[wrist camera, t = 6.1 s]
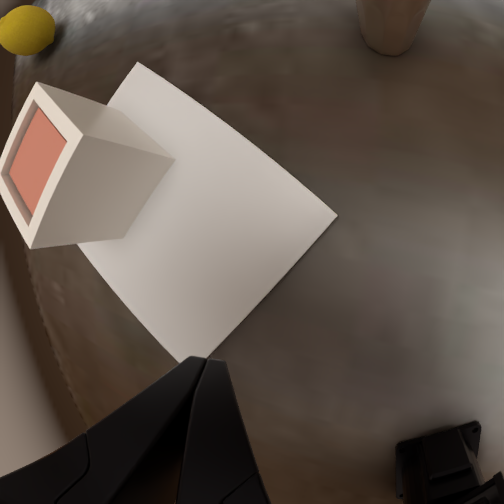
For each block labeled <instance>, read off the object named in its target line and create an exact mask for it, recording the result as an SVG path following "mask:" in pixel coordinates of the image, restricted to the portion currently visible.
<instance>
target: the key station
mask: <svg viewBox="0 0 504 504" xmlns="http://www.w3.org/2000/svg"><path fill="white" fill-rule="evenodd" d="M38 108H41V109H42V111H43V112H44V113H45V114H46V116H47V117H48V118H49V119H50V121H51V122H52V123H53V124H54V126H55V127H56V128H57V129H58V131H59V132H60V133H61V134H62V136H63V137H64V138H65V139H66V140H67V143H66V145H65V147H64V149H63V151H62V152H61V154H60V156H59V158H58V160H57V162H56V164H55V166H54V169H53V171H52V173H51V175H50V177H49V179H48V181H47V183H46V186H45V188H44V190H43V192H42V195H41V197H40V199H39V202H38V204H37V207H36V209H35V212H34V214H33V215H32V213H31V212H30V210H29V208H28V207H27V205H26V203H25V201H24V200H23V198H22V196H21V194H20V193H19V191H18V189H17V187H16V185H15V183H14V181H13V180H12V178H11V176H10V174H9V172H10V169H11V167H12V164H13V162H14V159H15V157H16V154H17V152H18V150H19V147H20V145H21V143H22V140H23V138H24V136H25V134H26V132H27V130H28V127H29V125H30V123H31V121H32V119H33V117H34V115H35V113H36V111H37V109H38ZM0 193H1V195H2V198H3V200H4V202H5V204H6V206H7V207H8V210H9V212H10V214H11V216H12V218H13V219H14V221H15V223H16V225H17V227H18V229H19V231H20V232H21V234H22V236H23V238H24V240H25V241H26V243H27V245H28V247H29V248H30V249H36V248H44V247H52V246H60V245H69V244H77V245H78V246H79V247H80V249H81V250H82V251H83V253H84V254H85V255H86V257H87V258H88V259H89V260H90V262H91V263H92V264H93V266H94V267H95V268H96V269H97V271H98V272H99V273H100V274H101V276H102V277H103V278H104V279H105V281H106V282H107V283H108V284H109V286H110V287H111V288H112V289H113V290H114V292H115V293H116V294H117V295H118V296H119V298H120V299H121V300H122V301H123V302H124V304H125V305H126V306H127V307H128V308H129V309H130V311H131V312H132V313H133V314H134V315H135V316H136V317H137V318H138V320H139V321H140V322H141V323H142V324H143V325H144V326H145V327H146V328H147V330H148V331H149V332H150V333H151V334H152V335H153V336H154V337H155V338H156V339H157V340H158V341H159V343H160V344H161V345H162V346H163V347H164V348H165V349H166V350H167V351H168V352H169V353H170V354H171V355H172V356H173V357H174V358H175V359H176V360H177V361H178V362H179V363H181V362H182V361H183V360H185V359H186V358H187V357H189V356H198V357H204V358H207V357H208V356H209V355H210V354H211V353H212V352H213V351H214V350H215V349H216V348H217V347H218V346H219V345H220V344H221V343H222V342H223V341H224V340H225V339H226V337H227V336H228V335H229V334H230V333H231V332H232V331H233V330H234V329H235V328H236V327H237V326H238V325H239V324H240V323H241V322H242V321H243V320H244V319H245V318H246V316H247V315H248V314H249V313H250V312H251V311H252V310H253V309H254V308H255V307H256V306H257V305H258V304H259V303H260V302H261V300H262V299H263V298H264V297H265V296H266V295H267V294H268V293H269V292H270V291H271V290H272V289H273V287H274V286H275V285H276V284H277V283H278V282H279V281H280V280H281V279H282V278H283V277H284V276H285V274H286V273H287V272H288V271H289V270H290V269H291V268H292V267H293V266H294V265H295V263H296V262H297V261H298V260H299V259H300V258H301V257H302V256H303V255H304V253H305V252H306V251H307V250H308V249H309V248H310V247H311V246H312V244H313V243H314V242H315V241H316V240H317V239H318V238H319V237H320V235H321V234H322V233H323V232H324V231H325V230H326V229H327V228H328V226H329V225H330V224H331V223H332V222H333V221H334V220H335V218H336V217H337V216H338V215H337V214H336V213H335V212H334V211H333V210H331V209H330V208H329V207H328V206H327V205H326V204H325V203H324V202H322V201H321V200H320V199H319V198H318V197H317V196H316V195H314V194H313V193H312V192H311V191H310V190H309V189H307V188H306V187H305V186H304V185H303V184H302V183H300V182H299V181H298V180H297V179H296V178H294V177H293V176H292V175H291V174H290V173H288V172H287V171H286V170H285V169H284V168H282V167H281V166H280V165H279V164H278V163H276V162H275V161H274V160H273V159H271V158H270V157H269V156H268V155H266V154H265V153H264V152H263V151H261V150H260V149H259V148H258V147H256V146H255V145H254V144H253V143H251V142H250V141H249V140H247V139H246V138H245V137H244V136H242V135H241V134H240V133H238V132H237V131H236V130H234V129H233V128H232V127H231V126H229V125H228V124H227V123H225V122H224V121H223V120H221V119H220V118H218V117H217V116H216V115H214V114H213V113H212V112H210V111H209V110H208V109H206V108H205V107H203V106H202V105H201V104H199V103H198V102H197V101H195V100H194V99H192V98H191V97H189V96H188V95H187V94H185V93H184V92H182V91H181V90H179V89H178V88H177V87H175V86H174V85H172V84H171V83H169V82H168V81H166V80H165V79H163V78H162V77H160V76H159V75H157V74H156V73H154V72H153V71H151V70H150V69H148V68H147V67H145V66H144V65H142V64H140V63H139V62H137V63H136V65H135V66H134V67H133V69H132V70H131V71H130V73H129V74H128V76H127V77H126V78H125V80H124V81H123V82H122V84H121V85H120V87H119V88H118V90H117V91H116V93H115V94H114V95H113V97H112V98H111V100H110V101H109V103H108V104H107V106H106V105H103V104H100V103H98V102H95V101H92V100H89V99H87V98H84V97H81V96H78V95H75V94H72V93H69V92H67V91H64V90H61V89H58V88H55V87H52V86H49V85H45V84H42V83H39V82H36V83H35V85H34V87H33V89H32V90H31V92H30V94H29V96H28V98H27V100H26V102H25V104H24V106H23V108H22V110H21V112H20V114H19V116H18V118H17V120H16V123H15V125H14V127H13V129H12V132H11V134H10V136H9V139H8V141H7V144H6V146H5V148H4V151H3V153H2V156H1V158H0Z"/></svg>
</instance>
